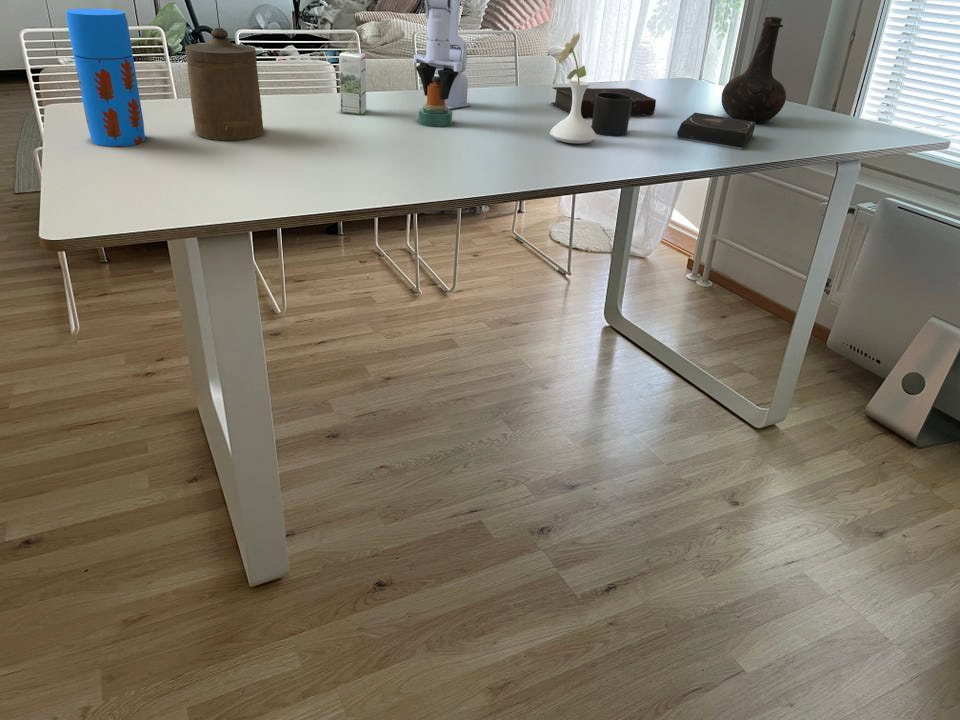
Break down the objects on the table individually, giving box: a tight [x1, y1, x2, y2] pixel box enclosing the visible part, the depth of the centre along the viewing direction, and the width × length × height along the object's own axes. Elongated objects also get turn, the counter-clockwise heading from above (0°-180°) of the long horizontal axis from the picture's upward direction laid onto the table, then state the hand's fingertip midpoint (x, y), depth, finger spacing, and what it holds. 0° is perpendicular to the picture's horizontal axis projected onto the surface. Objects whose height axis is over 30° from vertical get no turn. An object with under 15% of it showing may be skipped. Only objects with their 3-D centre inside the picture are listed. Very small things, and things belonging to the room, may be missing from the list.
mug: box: [590, 93, 632, 137], centre depth 193 cm, size 9×12×9 cm
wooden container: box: [185, 27, 264, 141], centre depth 164 cm, size 15×15×22 cm
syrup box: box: [338, 51, 367, 115], centre depth 192 cm, size 6×6×14 cm
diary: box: [550, 86, 657, 117], centre depth 217 cm, size 19×25×5 cm
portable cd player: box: [676, 112, 757, 151], centre depth 196 cm, size 16×17×4 cm
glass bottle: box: [721, 16, 787, 124], centre depth 213 cm, size 18×18×28 cm
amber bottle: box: [426, 75, 445, 106], centre depth 187 cm, size 5×5×6 cm
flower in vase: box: [549, 32, 597, 144], centre depth 177 cm, size 13×11×25 cm
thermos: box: [65, 8, 146, 148], centre depth 152 cm, size 11×11×25 cm
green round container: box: [418, 101, 454, 128], centre depth 190 cm, size 9×9×5 cm
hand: (436, 97), depth 188 cm, fingers open, 5 cm apart
